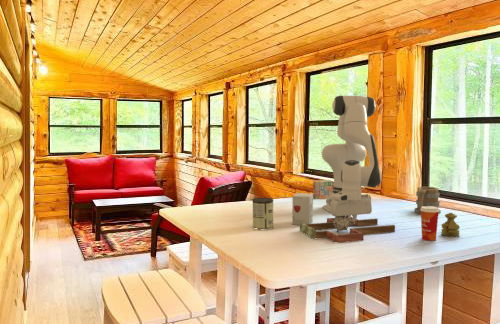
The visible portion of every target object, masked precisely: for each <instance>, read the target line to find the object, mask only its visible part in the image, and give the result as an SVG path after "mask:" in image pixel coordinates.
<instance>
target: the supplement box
mask: <svg viewBox="0 0 500 324" xmlns="http://www.w3.org/2000/svg"><path fill="white" fill-rule="evenodd" d="M313 204H314V198H313V193H306V192H305V193H301V192H296V193H294V194H293V195H292V208H291V209H292V210H291V211H292V213H291V214H292V219H291V221H292V223H291V224H292V225H295V226H300V223H304V224H313V222H314V221H313V220H314V219H313V218H314V217H313V216H314V205H313Z"/></svg>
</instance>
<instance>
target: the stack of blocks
mask: <svg viewBox="0 0 500 324" xmlns="http://www.w3.org/2000/svg"><path fill="white" fill-rule="evenodd" d="M332 187H334V180H331V179H328V180H327V179H322V180H313V181H312V189H313V190H312V191H313V192H312V194H313V200H327V198H328V197H329V196H330V195H331V194H332V193H333V192H332V191H333V189H332Z"/></svg>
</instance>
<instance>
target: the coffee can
mask: <svg viewBox="0 0 500 324" xmlns="http://www.w3.org/2000/svg"><path fill="white" fill-rule="evenodd" d="M251 201H252V228H253V227H254V228H257V229H270V230H272V228H273V229H274V199H273V198H271V197H256V198H252V200H251ZM254 228H253V229H254Z"/></svg>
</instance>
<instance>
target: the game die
mask: <svg viewBox="0 0 500 324" xmlns="http://www.w3.org/2000/svg"><path fill="white" fill-rule="evenodd" d="M334 218H335V219H334V221H333V223H331V224H333V225H334V226H335V228H336V230H337V231H336V233H338V232H340V231H346V232H348V228H349V227H348V226H349V224H350V222H351V221H349V220H348V219H347V217H346V216H337V217H335V216H334Z"/></svg>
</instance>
